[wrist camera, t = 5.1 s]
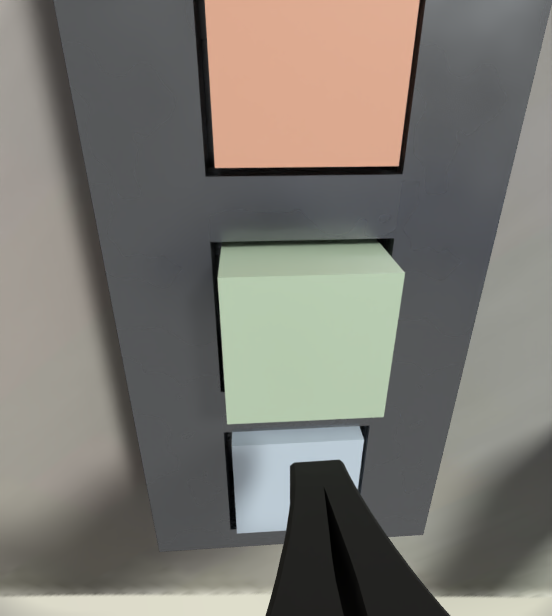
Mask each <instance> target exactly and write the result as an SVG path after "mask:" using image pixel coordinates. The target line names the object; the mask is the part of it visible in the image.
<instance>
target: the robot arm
mask: <svg viewBox="0 0 552 616" xmlns="http://www.w3.org/2000/svg"><path fill="white" fill-rule="evenodd" d="M266 616H450V615H449V614H448V613H447V611H446V610H445V609H444V608H443V607H442V606H441V605H440V604H439V602H438V601H437V600H436V599H435V598H434V596H433V595H432V594H431V593H430V592H429V590H428V589H427V588H426V587H425V586H424V584H423V583H422V582H421V581H420V579H419V578H418V577H417V576H416V574H415V573H414V572H413V570H412V569H411V568H410V567H409V565H408V564H407V563H406V561H405V560H404V559H403V557H402V556H401V555H400V553H399V552H398V550H397V549H396V548H395V546H394V545H393V543H392V542H391V541H390V539H389V538H388V536H387V535H386V533H385V532H384V530H383V529H382V527H381V526H380V525H379V523H378V522H377V520H376V519H375V517H374V516H373V514H372V512H371V511H370V509H369V508H368V506H367V505H366V503H365V501H364V500H363V498H362V496H361V495H360V493H359V491H358V489H357V488H356V486H355V484H354V482H353V481H352V479H351V477H350V475H349V473H348V471H347V469H346V467H345V465H344V463H343V462H342V461H341V460H324V461H310V462H295V463H293V464H292V465H290V507H289V515H288V521H287V528H286V534H285V540H284V545H283V549H282V554H281V558H280V563H279V567H278V572H277V576H276V580H275V584H274V588H273V592H272V595H271V599H270V603H269V606H268V609H267V613H266Z"/></svg>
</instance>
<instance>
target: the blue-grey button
mask: <svg viewBox="0 0 552 616" xmlns="http://www.w3.org/2000/svg"><path fill="white" fill-rule="evenodd" d="M363 444H364V438H363V435H362V432H361V429H360V426H349V427H328V428H307V429H286V430H265V431H244V432H232V459H233V475H234V492H235V508H236V525H237V534H238V533H254V532H270V531H286V528H287V521H288V515H289V507H290V465H292V464H293V463H295V462H310V461H324V460H341V461H342V462H343V463H344V465H345V467H346V469H347V471H348V473H349V475H350V477H351V479H352V481H353V482H354V484H355V486H356V488H357V489H358V484H359V476H360V468H361V460H362V452H363Z"/></svg>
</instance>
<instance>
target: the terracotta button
mask: <svg viewBox="0 0 552 616" xmlns="http://www.w3.org/2000/svg"><path fill="white" fill-rule="evenodd" d="M419 1H420V0H205V14H206V30H207V47H208V63H209V80H210V96H211V113H212V129H213V146H214V162H215V168H269V167H366V166H399V159H400V151H401V143H402V136H403V128H404V120H405V112H406V104H407V96H408V88H409V80H410V72H411V64H412V56H413V48H414V41H415V33H416V25H417V17H418V9H419Z"/></svg>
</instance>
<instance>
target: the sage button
mask: <svg viewBox="0 0 552 616" xmlns="http://www.w3.org/2000/svg"><path fill="white" fill-rule="evenodd" d="M404 277H405V272H404V271H403V270H402V269H401V268H400V266H399V265H398V264H397V263H396V262H395V261H394V259H393V258H392V257H391V256H390V255H389V254H388V252H387V251H386V250H385V249H384V248H383V246H382V245H381V244H380V243H379V242H378V241H377V239H336V240H288V241H240V242H222V246H221V254H220V262H219V270H218V292H219V308H220V323H221V338H222V354H223V369H224V384H225V400H226V415H227V424H246V423H267V422H289V421H310V420H331V419H352V418H374V417H384V411H385V405H386V398H387V391H388V384H389V378H390V371H391V364H392V358H393V351H394V344H395V337H396V331H397V324H398V317H399V311H400V304H401V297H402V291H403V284H404Z"/></svg>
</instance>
